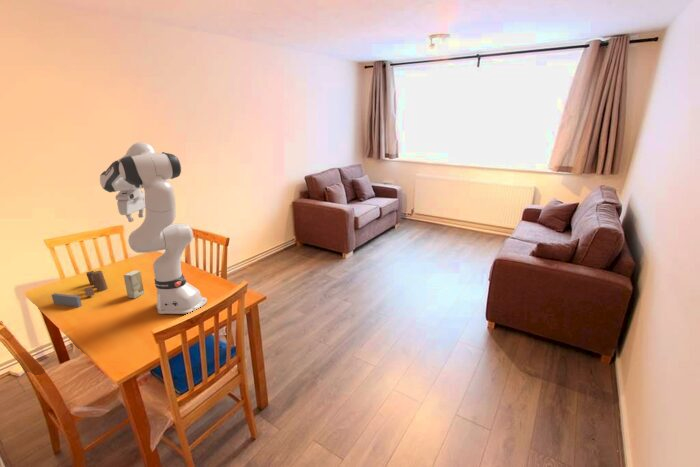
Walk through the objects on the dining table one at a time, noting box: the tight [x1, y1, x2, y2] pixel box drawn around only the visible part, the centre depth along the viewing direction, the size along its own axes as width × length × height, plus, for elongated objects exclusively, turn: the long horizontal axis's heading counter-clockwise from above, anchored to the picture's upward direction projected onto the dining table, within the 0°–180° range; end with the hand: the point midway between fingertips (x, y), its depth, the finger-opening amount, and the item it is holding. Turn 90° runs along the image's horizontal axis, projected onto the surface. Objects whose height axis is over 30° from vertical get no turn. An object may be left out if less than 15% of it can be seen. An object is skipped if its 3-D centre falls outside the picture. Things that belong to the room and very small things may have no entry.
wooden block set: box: [83, 270, 108, 298], centre depth 171 cm, size 18×9×10 cm, turn 38°
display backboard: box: [51, 292, 83, 308], centre depth 157 cm, size 14×2×5 cm, turn 79°
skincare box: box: [123, 270, 145, 299], centre depth 166 cm, size 6×4×12 cm
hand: (136, 219), depth 177 cm, fingers open, 8 cm apart
